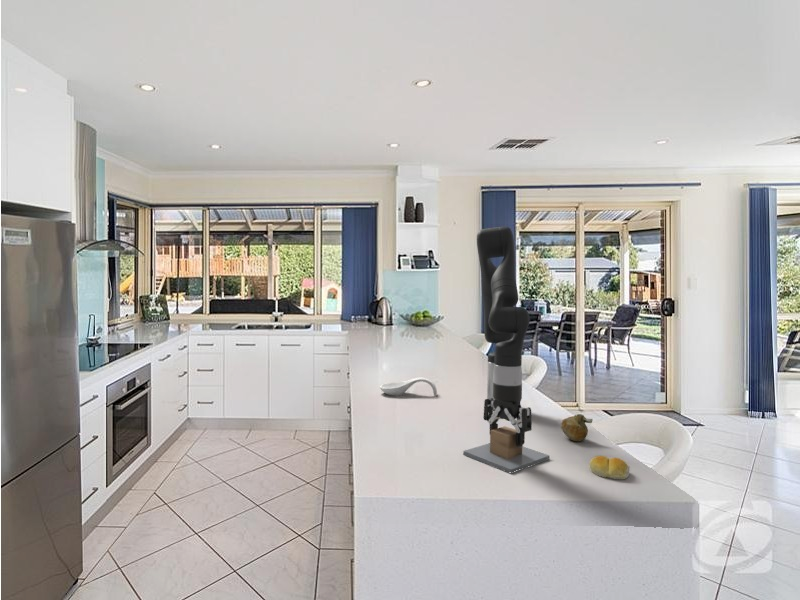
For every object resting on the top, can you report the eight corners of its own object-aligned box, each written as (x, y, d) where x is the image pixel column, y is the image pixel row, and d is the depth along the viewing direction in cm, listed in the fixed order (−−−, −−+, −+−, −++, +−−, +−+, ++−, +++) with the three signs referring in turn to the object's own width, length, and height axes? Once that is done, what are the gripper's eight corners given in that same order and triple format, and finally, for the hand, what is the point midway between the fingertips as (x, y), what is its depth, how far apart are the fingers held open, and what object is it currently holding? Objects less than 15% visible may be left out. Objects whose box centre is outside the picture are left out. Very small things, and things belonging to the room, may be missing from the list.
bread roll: (592, 464, 124) (593, 449, 124) (630, 472, 120) (631, 456, 119) (585, 475, 117) (586, 458, 117) (626, 483, 113) (626, 466, 112)
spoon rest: (378, 397, 194) (378, 379, 194) (381, 390, 206) (381, 374, 206) (436, 399, 192) (436, 381, 192) (437, 392, 204) (437, 375, 203)
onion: (575, 434, 149) (575, 408, 148) (594, 442, 141) (595, 415, 141) (555, 436, 146) (555, 410, 146) (573, 445, 138) (574, 417, 138)
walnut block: (504, 447, 133) (504, 426, 132) (522, 453, 128) (522, 431, 128) (489, 452, 129) (490, 430, 129) (507, 458, 124) (508, 436, 124)
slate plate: (501, 442, 140) (502, 439, 140) (549, 459, 127) (549, 455, 127) (463, 454, 130) (463, 450, 130) (510, 473, 117) (510, 469, 117)
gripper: (538, 384, 124) (537, 446, 125) (496, 375, 136) (494, 432, 136) (520, 388, 120) (519, 452, 120) (477, 378, 131) (476, 437, 132)
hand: (506, 441), depth 128 cm, fingers open, 8 cm apart
